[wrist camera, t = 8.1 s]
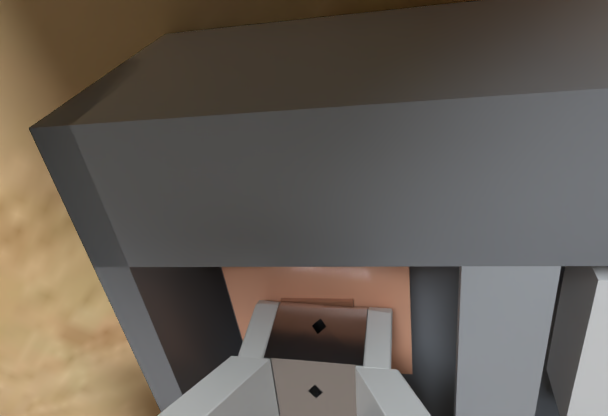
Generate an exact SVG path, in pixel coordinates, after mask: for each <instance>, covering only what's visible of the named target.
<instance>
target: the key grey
mask: <svg viewBox="0 0 608 416" xmlns="http://www.w3.org/2000/svg"><path fill="white" fill-rule="evenodd" d="M547 373H548V376H549V380H550V383H551V387H552V390H553V394H554V397H555V400H556V404H557V407H558V411H559V414H560V416H608V266H565V270H564V276H563V281H562V287H561V292H560V298H559V303H558V309H557V314H556V319H555V325H554V330H553V336H552V341H551V347H550V352H549V358H548V363H547Z"/></svg>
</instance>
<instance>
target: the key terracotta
mask: <svg viewBox="0 0 608 416" xmlns="http://www.w3.org/2000/svg"><path fill="white" fill-rule="evenodd" d="M222 271H223V274H224V278H225V281H226V285H227V288H228V292H229V295H230V298H231V302H232V305H233V309H234V312H235V316H236V319H237V323H238V326H239V329H240V333H241V336H242V340H244V337H245V334H246V331H247V328H248V325H249V322H250V319H251V316H252V314H253V311H254V308H255V305H256V304H257V302H258V301H259V300H265V301H276V302H281V301H282V302H294V303H305V304H317V305H337V306H356V307H368V309H369V307H377V308H391V309H392V311H393V314H392V354H391V369H396V370H399V371H400V373H401V374H412V331H411V298H410V267H222Z"/></svg>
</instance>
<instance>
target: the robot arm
mask: <svg viewBox="0 0 608 416" xmlns="http://www.w3.org/2000/svg"><path fill="white" fill-rule="evenodd" d="M392 314H393V311H392V309H391V308H377V307H369V309H368V307H356V306H337V305H317V304H305V303H294V302H282V301H281V302H276V301H265V300H259V301H258V302H257V304H256V305H255V308H254V311H253V314H252V316H251V319H250V322H249V325H248V328H247V331H246V334H245V337H244V340H243V343H242V345H241V348H240V351H239V354H238V356H231V357H229V358H228V359H227V360H226V361H224V362H223V363H222V364H221V365H219V366H218V367H217V368H216V369H214V370H213V371H212V372H211V373H209V374H208V375H207V376H206V377H204V378H203V379H202V380H201V381H200V382H198V383H197V384H196V385H195V386H193V387H192V388H191V389H190V390H188V391H187V392H186V393H185V394H183V395H182V396H181V397H180V398H178V399H177V400H176V401H175V402H173V403H172V404H171V405H170V406H169V407H167V408H166V409H165V410H164V411H162V412H161V413H160V414H159V415H157V416H431V415H430V413H429V412H428V411H427V409H426V408H425V406H424V405H423V404H422V402H421V401H420V399H419V398H418V397H417V395H416V394H415V392H414V391H413V390H412V388H411V387H410V385H409V384H408V383H407V381H406V380H405V378H404V377H403V376H402V374H401V373H400V371H399V370H396V369H391V354H392Z"/></svg>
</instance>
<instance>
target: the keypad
mask: <svg viewBox="0 0 608 416" xmlns="http://www.w3.org/2000/svg"><path fill="white" fill-rule="evenodd" d="M29 130H30V132H31V134H32V136H33V139H34V141H35V143H36V145H37V147H38V149H39V151H40V154H41V156H42V158H43V160H44V162H45V164H46V166H47V169H48V171H49V173H50V175H51V177H52V179H53V181H54V184H55V186H56V188H57V190H58V192H59V194H60V196H61V199H62V201H63V203H64V205H65V207H66V209H67V211H68V214H69V216H70V218H71V220H72V222H73V224H74V227H75V229H76V231H77V233H78V235H79V237H80V239H81V242H82V244H83V246H84V248H85V250H86V252H87V254H88V257H89V259H90V261H91V263H92V265H93V267H94V269H95V272H96V274H97V276H98V278H99V280H100V282H101V284H102V287H103V289H104V291H105V293H106V295H107V297H108V299H109V302H110V304H111V306H112V308H113V310H114V312H115V314H116V317H117V319H118V321H119V323H120V325H121V327H122V329H123V332H124V334H125V336H126V338H127V340H128V342H129V344H130V347H131V349H132V351H133V353H134V355H135V357H136V359H137V362H138V364H139V366H140V368H141V370H142V372H143V374H144V377H145V379H146V381H147V383H148V385H149V387H150V390H151V392H152V394H153V396H154V398H155V400H156V402H157V405H158V407H159V409H160V411H161V412H162V411H164V410H165V409H166V408H167V407H169V406H170V405H171V404H172V403H173V402H175V401H176V400H177V399H178V398H180V397H181V396H182V395H183V394H185V393H186V392H187V391H188V390H190V389H191V388H192V387H193V386H195V385H196V384H197V383H198V382H200V381H201V380H202V379H203V378H204V377H206V376H207V375H208V374H209V373H211V372H212V371H213V370H214V369H216V368H217V367H218V366H219V365H221V364H222V363H223V362H224V361H226V360H227V359H228V358H229V357H231V356H238V354H239V351H240V348H241V345H242V343H243V340H242V336H241V333H240V329H239V326H238V323H237V319H236V316H235V312H234V309H233V305H232V302H231V298H230V295H229V292H228V288H227V285H226V281H225V278H224V274H223V271H222V267H410V298H411V331H412V374H402V376H403V377H404V378H405V380H406V381H407V383H408V384H409V385H410V387H411V388H412V390H413V391H414V392H415V394H416V395H417V397H418V398H419V399H420V401H421V402H422V404H423V405H424V406H425V408H426V409H427V411H428V412H429V413H430V415H431V416H560V414H559V411H558V407H557V404H556V400H555V397H554V394H553V390H552V387H551V383H550V380H549V376H548V373H547V363H548V358H549V352H550V347H551V341H552V336H553V330H554V325H555V319H556V314H557V309H558V303H559V298H560V292H561V287H562V281H563V276H564V270H565V266H608V0H478V1H468V2H459V3H450V4H440V5H431V6H421V7H412V8H403V9H393V10H384V11H375V12H365V13H356V14H347V15H337V16H328V17H319V18H309V19H300V20H291V21H281V22H272V23H263V24H253V25H244V26H234V27H225V28H216V29H206V30H197V31H188V32H178V33H169V34H164V35H163V36H161V37H160V38H159V39H157V40H156V41H154V42H153V43H151V44H150V45H148V46H147V47H145V48H144V49H143V50H141V51H140V52H138V53H137V54H135V55H134V56H132V57H131V58H130V59H128V60H127V61H125V62H124V63H122V64H121V65H119V66H118V67H116V68H115V69H114V70H112V71H111V72H109V73H108V74H106V75H105V76H103V77H102V78H101V79H99V80H98V81H96V82H95V83H93V84H92V85H90V86H89V87H88V88H86V89H85V90H83V91H82V92H80V93H79V94H77V95H76V96H74V97H73V98H72V99H70V100H69V101H67V102H66V103H64V104H63V105H61V106H60V107H59V108H57V109H56V110H54V111H53V112H51V113H50V114H48V115H47V116H45V117H44V118H43V119H41V120H40V121H38V122H37V123H35V124H34V125H32V126H31V127H30V128H29Z"/></svg>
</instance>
